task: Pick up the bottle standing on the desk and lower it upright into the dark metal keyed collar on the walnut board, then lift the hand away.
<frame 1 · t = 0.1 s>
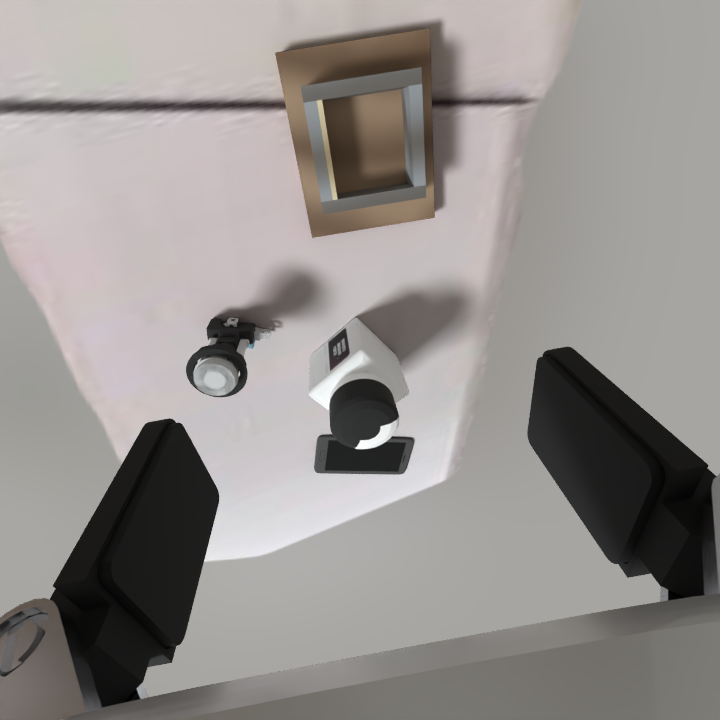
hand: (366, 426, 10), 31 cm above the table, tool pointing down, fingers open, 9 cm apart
collar board: (362, 144, 34), on the table
cell phone: (363, 451, 55), on the table
container: (353, 355, 46), on the table
push button: (241, 328, 42), on the table
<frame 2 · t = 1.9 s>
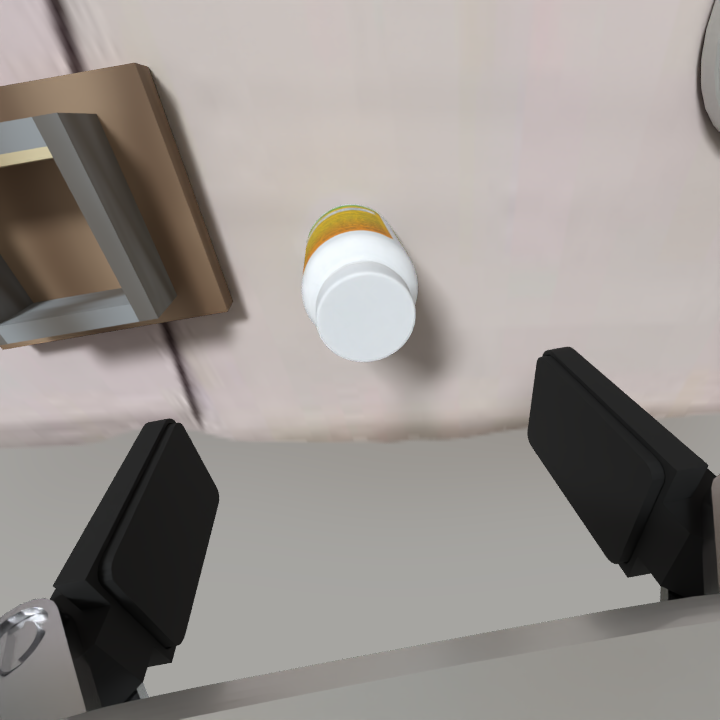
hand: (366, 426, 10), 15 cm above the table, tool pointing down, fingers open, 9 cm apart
collar board: (73, 224, 21), on the table
supplement bottle: (350, 248, 23), on the table
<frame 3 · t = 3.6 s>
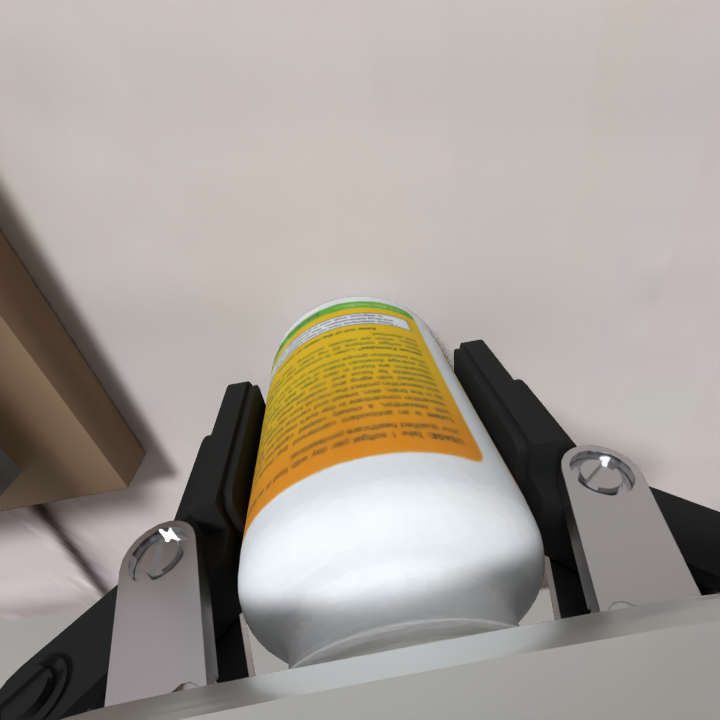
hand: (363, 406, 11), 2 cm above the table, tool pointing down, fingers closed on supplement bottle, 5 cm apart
supplement bottle: (356, 365, 13), on the table, touching gripper
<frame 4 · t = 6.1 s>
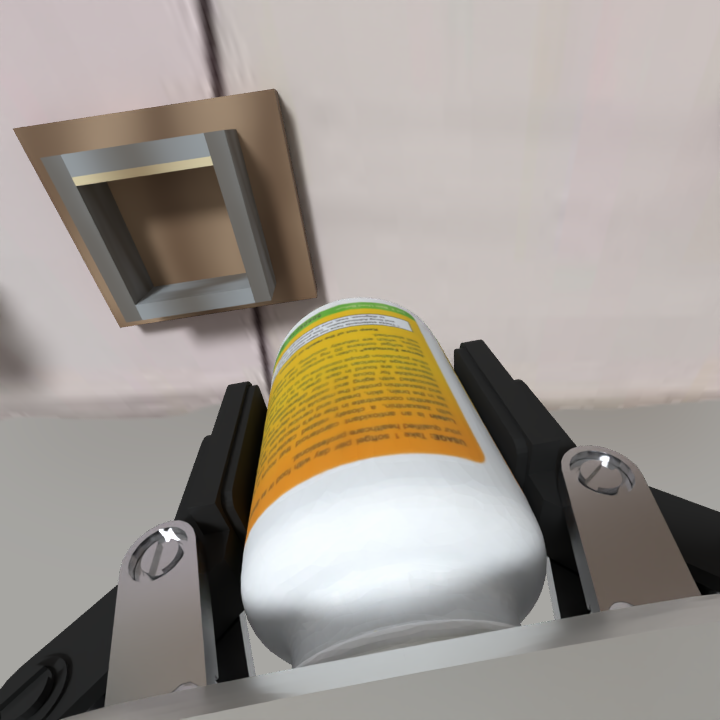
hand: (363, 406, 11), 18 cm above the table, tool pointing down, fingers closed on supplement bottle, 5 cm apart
collar board: (193, 219, 24), on the table
supplement bottle: (357, 365, 13), point 16 cm above the table, touching gripper
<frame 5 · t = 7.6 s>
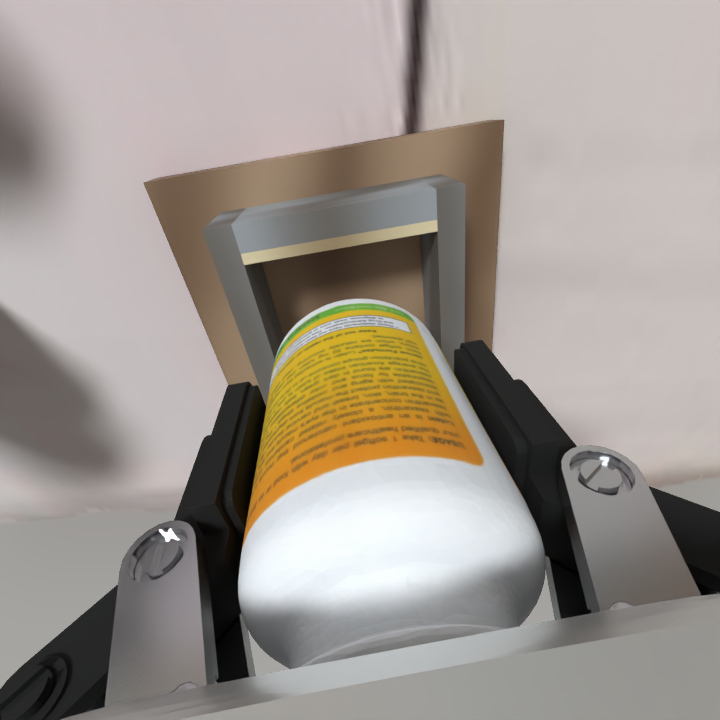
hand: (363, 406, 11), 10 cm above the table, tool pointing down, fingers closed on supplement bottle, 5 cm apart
collar board: (347, 284, 19), on the table
supplement bottle: (356, 366, 13), point 7 cm above the table, touching gripper
when the fingers open (6 cm above the table, at t = 8.7 s): supplement bottle drops 2 cm, resting on collar board.
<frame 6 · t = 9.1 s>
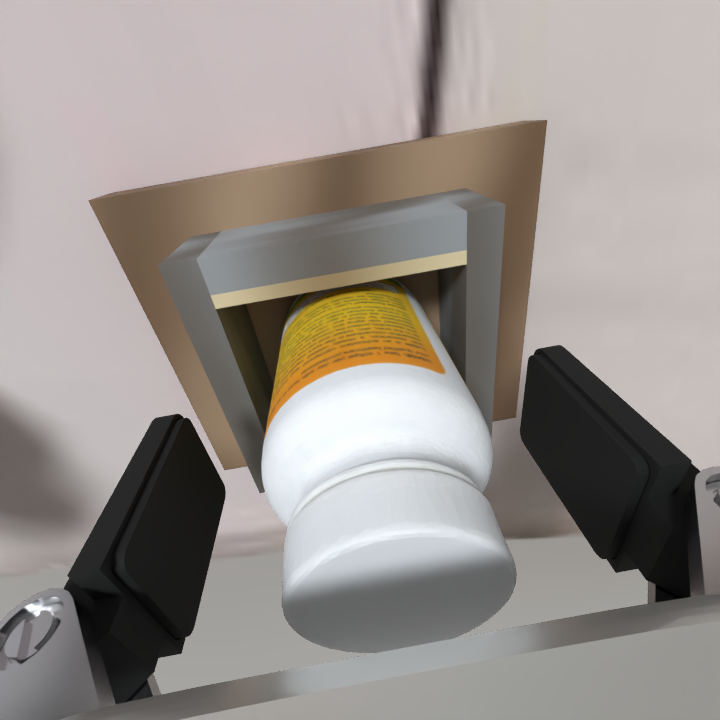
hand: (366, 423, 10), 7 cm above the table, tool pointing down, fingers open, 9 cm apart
collar board: (347, 316, 16), on the table
supplement bottle: (354, 331, 15), point 1 cm above the table, touching collar board
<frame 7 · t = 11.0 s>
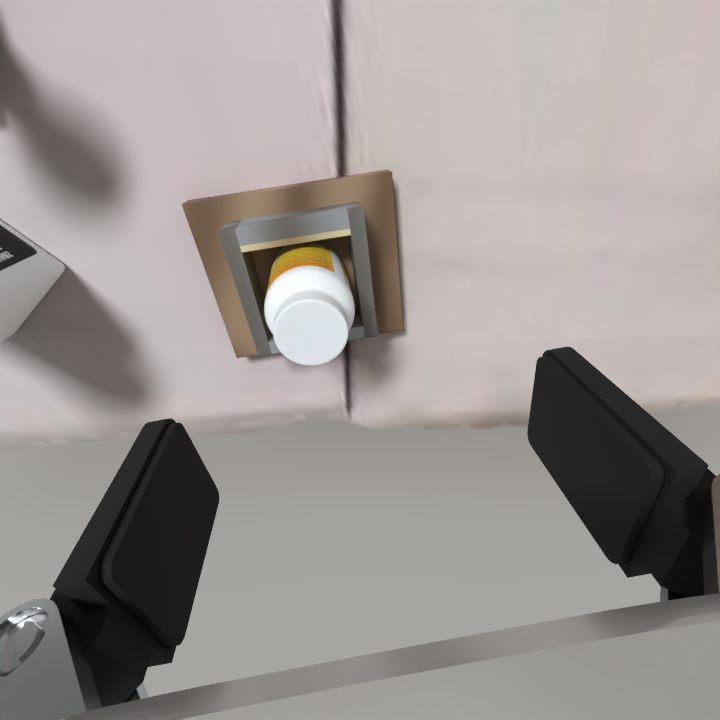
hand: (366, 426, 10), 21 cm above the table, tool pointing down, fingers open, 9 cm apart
collar board: (306, 268, 29), on the table
supplement bottle: (308, 273, 28), point 1 cm above the table, touching collar board
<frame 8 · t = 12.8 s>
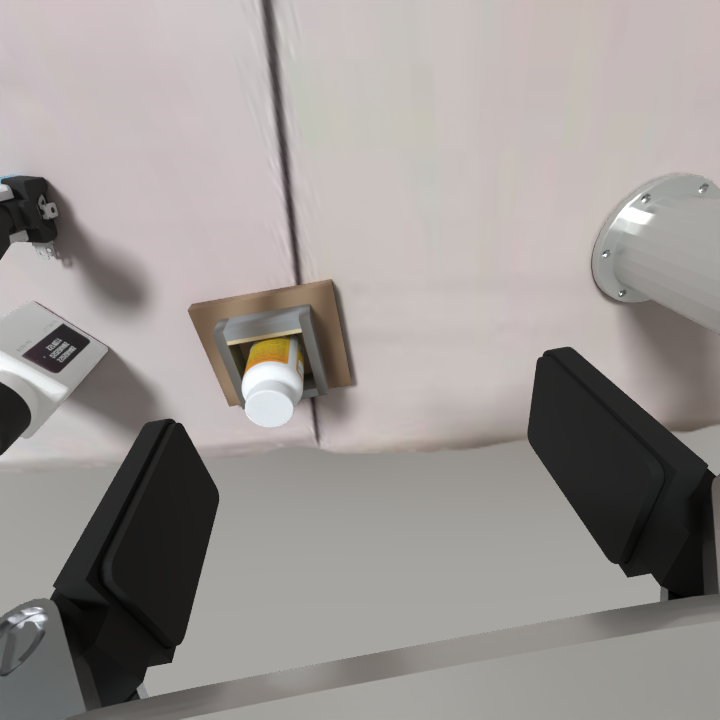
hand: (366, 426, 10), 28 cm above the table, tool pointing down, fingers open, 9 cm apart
collar board: (277, 343, 40), on the table
supplement bottle: (278, 349, 39), point 1 cm above the table, touching collar board
container: (54, 347, 38), on the table
push button: (42, 214, 32), on the table
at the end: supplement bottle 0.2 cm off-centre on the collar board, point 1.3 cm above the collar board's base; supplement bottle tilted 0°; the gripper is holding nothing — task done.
